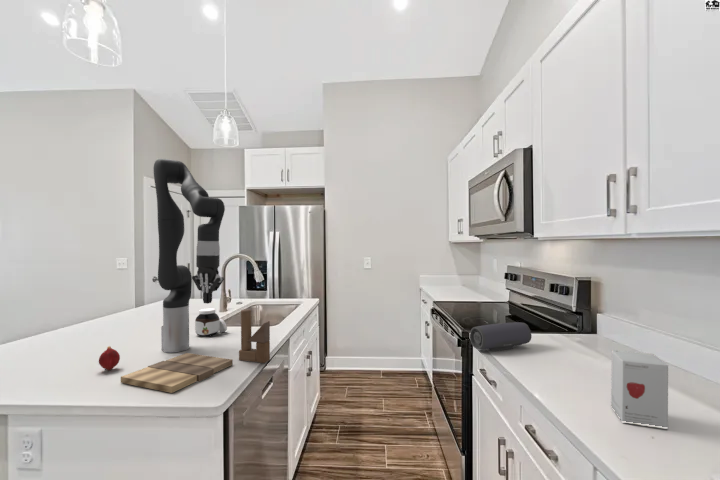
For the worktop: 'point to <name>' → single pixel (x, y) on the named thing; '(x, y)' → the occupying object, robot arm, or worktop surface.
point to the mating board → (185, 369)
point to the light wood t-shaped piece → (254, 340)
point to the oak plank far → (203, 361)
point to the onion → (109, 358)
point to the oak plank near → (159, 379)
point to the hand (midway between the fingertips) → (207, 303)
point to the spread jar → (209, 323)
